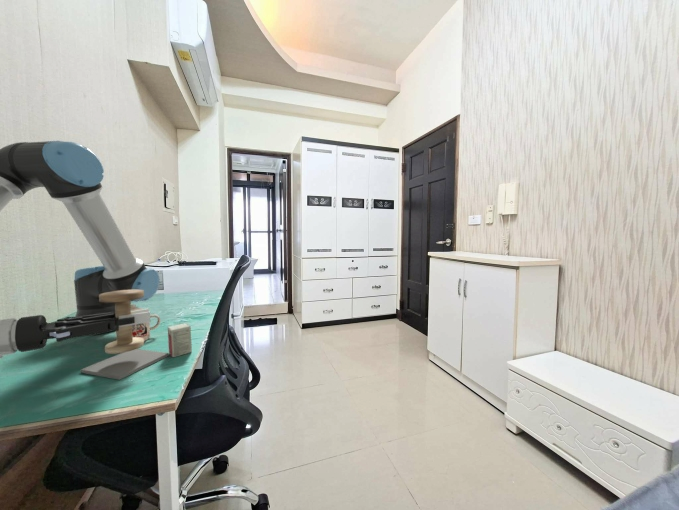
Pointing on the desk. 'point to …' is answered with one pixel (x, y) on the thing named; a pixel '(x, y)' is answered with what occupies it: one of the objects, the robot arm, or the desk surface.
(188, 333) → the small box
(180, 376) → the desk surface
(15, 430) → the desk surface
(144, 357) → the mat
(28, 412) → the desk surface
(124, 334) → the stool
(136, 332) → the teacup with lid
